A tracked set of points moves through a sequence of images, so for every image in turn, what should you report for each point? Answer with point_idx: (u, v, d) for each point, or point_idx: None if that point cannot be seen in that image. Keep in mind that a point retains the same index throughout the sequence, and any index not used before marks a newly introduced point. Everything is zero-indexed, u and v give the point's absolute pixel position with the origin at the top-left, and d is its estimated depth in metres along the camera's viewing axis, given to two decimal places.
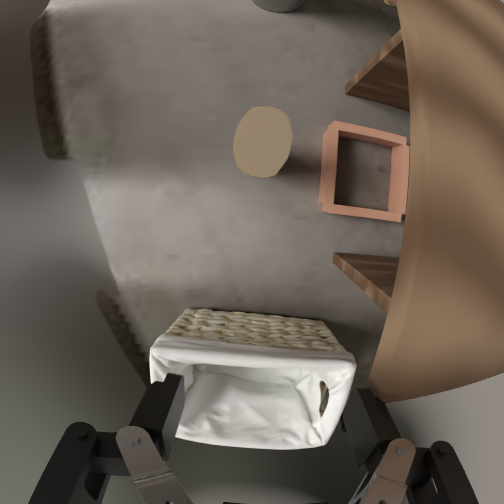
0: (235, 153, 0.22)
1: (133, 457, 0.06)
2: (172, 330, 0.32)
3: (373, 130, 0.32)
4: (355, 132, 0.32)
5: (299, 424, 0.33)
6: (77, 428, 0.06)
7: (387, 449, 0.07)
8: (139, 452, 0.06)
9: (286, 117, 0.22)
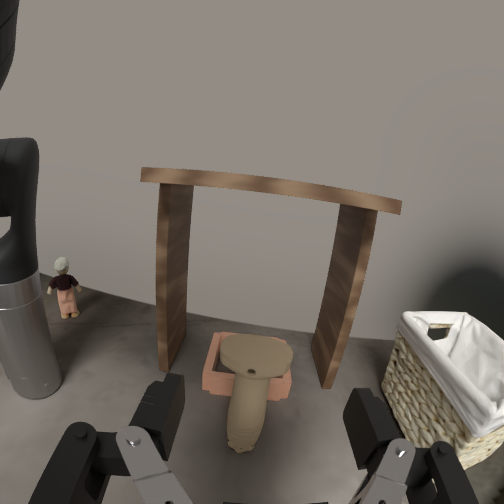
0: (272, 365, 0.21)
1: (133, 457, 0.06)
2: (462, 442, 0.16)
3: (210, 350, 0.41)
4: (213, 360, 0.38)
5: (465, 337, 0.33)
6: (77, 428, 0.06)
7: (387, 449, 0.07)
8: (139, 452, 0.06)
9: (232, 335, 0.25)
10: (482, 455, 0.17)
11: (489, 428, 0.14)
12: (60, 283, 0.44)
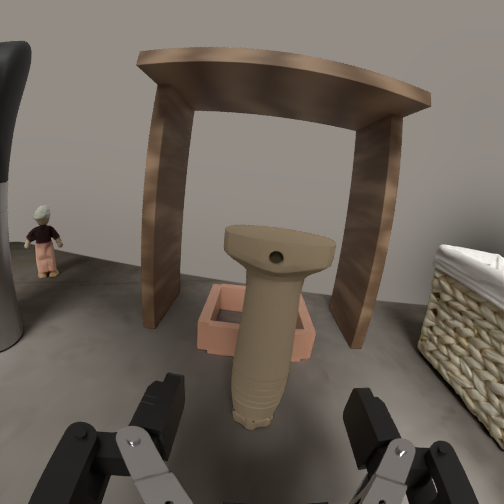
0: (309, 245, 0.14)
1: (133, 457, 0.06)
2: None
3: (208, 299, 0.33)
4: (212, 310, 0.31)
5: None
6: (77, 428, 0.06)
7: (387, 449, 0.07)
8: (139, 452, 0.06)
9: None
10: None
11: None
12: (39, 234, 0.37)
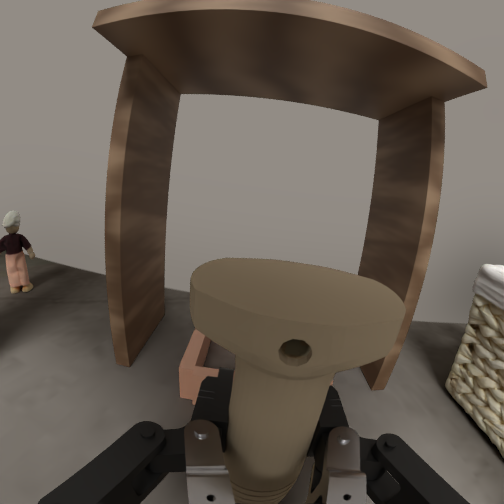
0: (367, 321, 0.06)
1: (206, 450, 0.07)
2: None
3: (195, 332, 0.26)
4: (199, 349, 0.23)
5: None
6: (145, 427, 0.07)
7: (328, 436, 0.08)
8: (203, 445, 0.07)
9: (229, 258, 0.10)
10: None
11: None
12: (8, 244, 0.29)
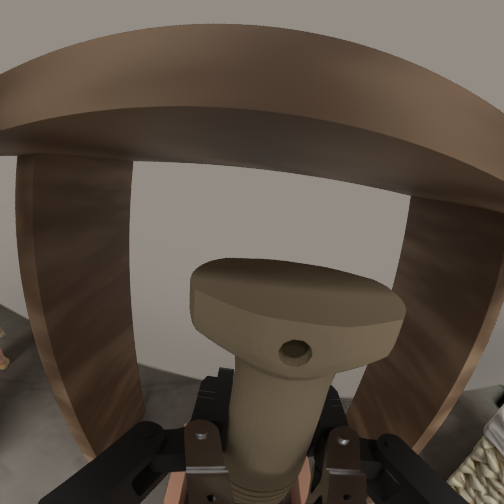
0: (367, 322, 0.06)
1: (206, 450, 0.07)
2: None
3: None
4: (180, 488, 0.16)
5: None
6: (145, 427, 0.07)
7: (328, 436, 0.08)
8: (203, 445, 0.07)
9: (229, 258, 0.10)
10: None
11: None
12: None
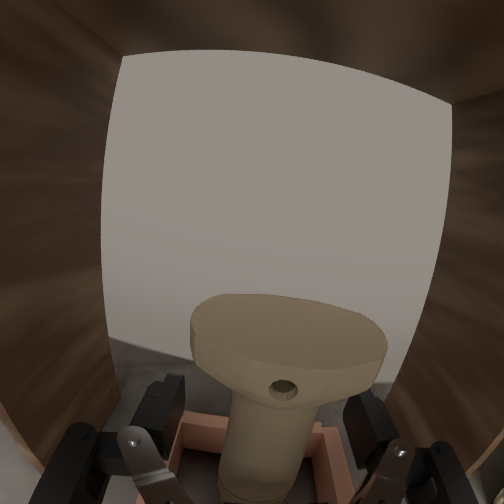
0: (348, 363, 0.07)
1: (134, 457, 0.06)
2: None
3: None
4: None
5: None
6: (77, 428, 0.06)
7: (387, 449, 0.07)
8: (140, 451, 0.06)
9: (226, 295, 0.10)
10: None
11: None
12: None
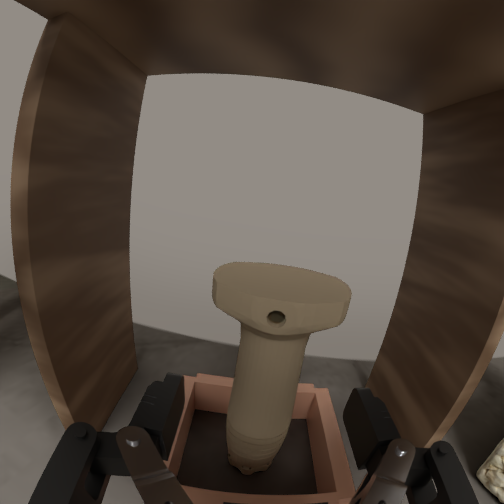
0: (319, 301, 0.11)
1: (133, 457, 0.06)
2: None
3: None
4: (171, 452, 0.13)
5: None
6: (77, 428, 0.06)
7: (387, 449, 0.07)
8: (139, 452, 0.06)
9: (236, 262, 0.15)
10: None
11: None
12: None
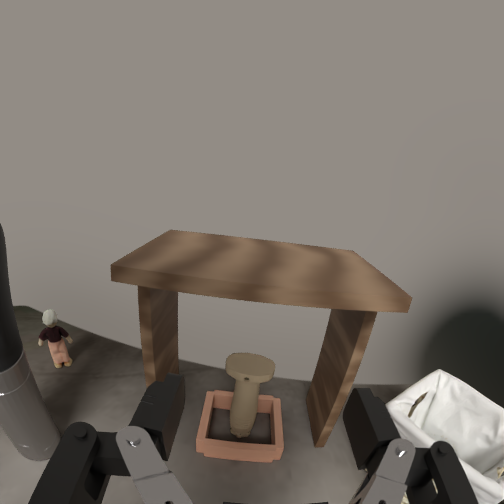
0: (260, 375, 0.32)
1: (133, 457, 0.06)
2: None
3: (203, 413, 0.37)
4: (206, 426, 0.34)
5: (443, 397, 0.30)
6: (77, 428, 0.06)
7: (387, 449, 0.07)
8: (139, 452, 0.06)
9: (233, 353, 0.36)
10: None
11: None
12: (50, 336, 0.40)
